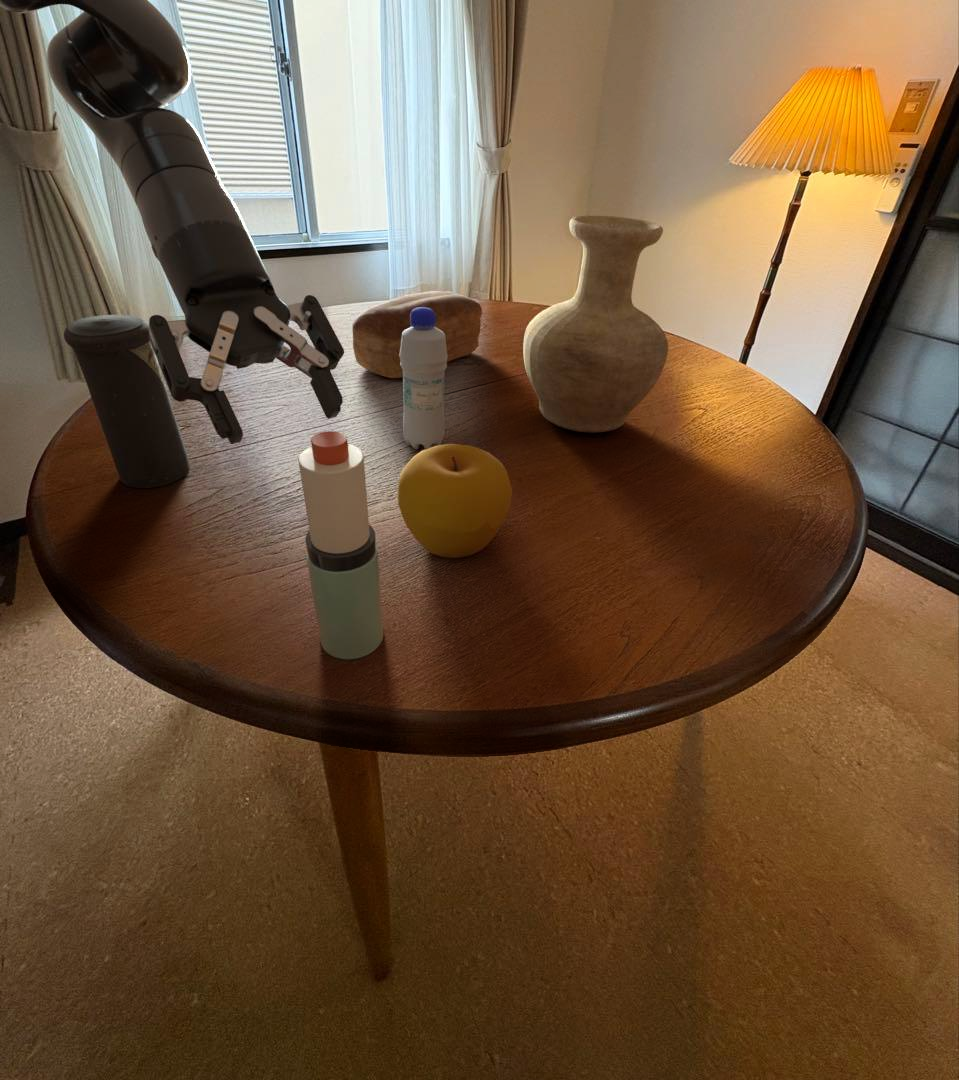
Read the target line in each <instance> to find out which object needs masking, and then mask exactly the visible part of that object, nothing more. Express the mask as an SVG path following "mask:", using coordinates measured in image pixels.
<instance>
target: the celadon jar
mask: <svg viewBox="0 0 959 1080" xmlns="http://www.w3.org/2000/svg"><path fill="white" fill-rule="evenodd" d="M369 532H370V536H369V539H368V541H367V542H366V543H365V544H364V545H363V546H362V547H360V548H359V549H357V550H354V551H351V552H348V553H341V554H333V553H326V552H323V551H321V550H319V549H317V548H316V547H315V546H314V545H313V544H312V542H311V537H310V531H309V530H308V532H307V533H306V535H305V538H304V539H305V540H304V541H305V547H306V551H305V558H306V564H307V570H308V577H309V582H310V589H311V594H312V599H313V607H314V612H315V618H316V624H317V630H318V636H319V641H320V645H321V648H322V649H323V650H324V652H326V653H327V654H328V655H329V656H331V657H333V658H337V659H340V660H356V659H361V658H364V657H366V656H368V655H370V654H372V653H373V652H374V651H376V650H377V649H378V648H379V646H381V643H382V642H383V639H384V634H385V633H384V632H385V630H384V617H383V616H384V615H383V603H382V602H383V601H382V588H381V572H380V559H379V546H378V544H377V540H376V532H375V529H374V528H373V526H372V525H371V524H370V523H369Z"/></svg>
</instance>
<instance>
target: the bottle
mask: <svg viewBox="0 0 959 1080" xmlns="http://www.w3.org/2000/svg"><path fill="white" fill-rule="evenodd" d="M435 322H436V317H435V313H434V311H433V310H432V309H430V308H425V307H419V308H415V309H413V310H412V311H411V315H410V323H411V326H412V327H410V328H408V329H406V330H404V331H403V332H402V338H401V348H400V355H399V356H400V359H401V363H400V365H401V367H402V369H403V377H402V387H403V388H402V389H403V393H402V394H403V419H402V431H403V432H402V433H403V438H404V441H405V443H406V444H407V445H409V446H411V448H413V449H414V450H419V448H420V445H422V446H423V450H426V449H429V448H431V447H434V446H438V445H442V443H443V442H442V441H443V439H444V437H445V431H446V423H445V421H446V420H445V371H446V369H447V367H448V362H447V358H448V355H447V348H446V339H445V334H444V332H443V331H441V330H439V329H438V328H436V327H435Z"/></svg>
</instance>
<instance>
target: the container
mask: <svg viewBox="0 0 959 1080" xmlns="http://www.w3.org/2000/svg"><path fill="white" fill-rule="evenodd" d="M63 338H64V339H63V340H64V341H65V343H66V344H67V345H68V346H70V347H71V349H73V352H74V355H75V358H76V360H77V363H78V365H79V367H80V370H81V373H82V376H83V378H84V380H85V382H86V387H87V388H88V391H89V395H90V398H91V401H92V403H93V406H94V408H95V411H96V414H97V417H98V420H99V423H100V426H101V428H102V431H103V434H104V437H105V440H106V443H107V446H108V448H109V451H110V454H111V457H112V460H113V464H114V466H115V469H116V472H117V474H118V477H119V479H120V482H121V483H123V484H124V485H125V486H128V487H129V488H134V489H151V488H157V487H163V486H166V485H170V484H172V483H174V482H177V481H178V480H180V479H183V477H185V476H186V475H187V474H188V473H189V471H190V469H191V463H190V459H189V455H188V452H187V448H186V445H185V443H184V439H183V436H182V433H181V430H180V427H179V424H178V420H177V418H176V414H175V411H174V408H173V406H172V402H171V398H170V395H169V391H168V387H167V384H166V381H165V378H164V375H163V373H162V370H161V368H160V365H159V362H158V360H157V357H156V355H155V352H154V350H153V347H152V345H151V342H150V340H149V321H146V320H144V319H143V318H140V317H138V316H135V315H128V314H103V315H93V316H86V317H83V318H80V319H76V320H75V321H73V322H71V323H70V324H69V325H68V326H67V327H66V328H65V330H64V331H63Z"/></svg>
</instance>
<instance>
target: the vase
mask: <svg viewBox="0 0 959 1080" xmlns="http://www.w3.org/2000/svg"><path fill="white" fill-rule="evenodd" d="M568 225H569V231H570V233H571V235H572V237H574V238H575V239H577V240H579V241H580V243H581V245H582V259H581V267H580V273H579V278H578V284H577V287H576V292H575V294H574V296H573V297H572V298H570V299H568V300H564V301H561V302H559V303H555V304H553V305H551V306H549V307H547V308H545V309H542V311H540V312H539V313H538V314H537V315H535V316H534V317H533V318H532V319H531V321H529V323H528V324H527V326H526V327H525V331H524V335H523V343H522V344H523V345H522V347H523V348H522V350H523V364H524V368H525V372H526V375H527V377H528V380H529V382H530V385H531V387H532V389H533V391H534V393H535V395H536V397H537V399H538V404H539V405H538V406H539V408H538V409H539V411H540V413H541V415H542V416H543V417H544V419H546V420H547V421H548V422H550V423H551V424H553V425H555V426H558V427H560V428H562V429H565V430H569V431H573V432H579V433H588V434H589V433H592V434H593V433H595V434H596V433H606V432H610V431H614V430H616V429H619V428H620V427H621V426H623V425H624V423H625V422H627V419H628V416H629V415H630V413H631V412H632V411H633V410H634V409H635V408H636V407H637V406H638V405H640V403H641V402H642V401H643V400H644V399H645V398H646V397H647V396H648V394H649V393H650V392H651V391H652V390H653V389H654V387H655V386H656V384H657V383H658V381H659V379H660V377H661V374H662V373H663V370H664V367H665V365H666V362H667V357H668V353H669V342H668V339H667V336H666V333H665V332H664V330H663V328H662V327H661V326H660V324H659V323H657V322H656V321H655V320H654V319H653V318H652V317H651V316H650V315H648V314H647V313H645V312H644V311H642V310H640V309H639V308H637V307H636V306H635V305H634V303H633V299H632V296H633V295H632V294H633V289H634V288H633V287H634V282H635V276H636V272H637V267H638V262H639V258H640V255H641V253H642V252H643V251H644V249H646V248H647V247H650V246H652V245H655V244H657V242H658V241H659V240H660V239H661V237H662V235H663V233H664V228H663V227H662V225H660V224H658V223H656V222H651V221H648V220H644V219H639V218H631V217H630V218H629V217H622V216H614V215H613V216H611V215H581V216H574V217H572V218H571V219H570V220H569V224H568Z"/></svg>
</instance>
